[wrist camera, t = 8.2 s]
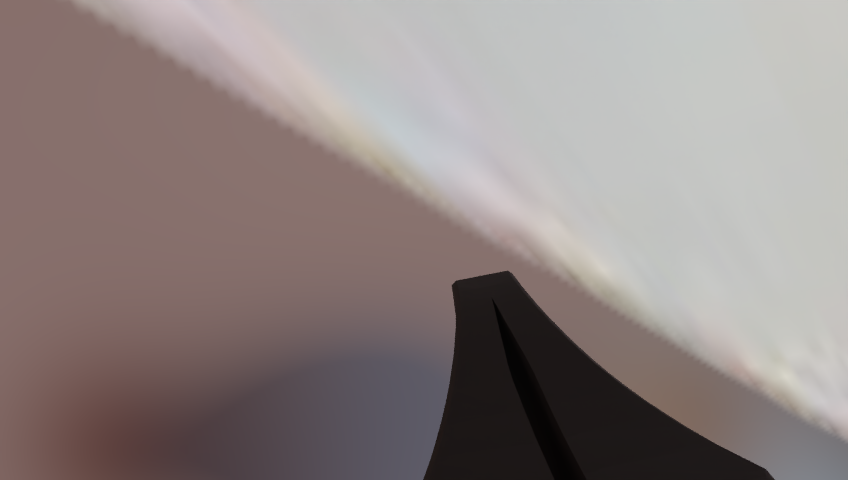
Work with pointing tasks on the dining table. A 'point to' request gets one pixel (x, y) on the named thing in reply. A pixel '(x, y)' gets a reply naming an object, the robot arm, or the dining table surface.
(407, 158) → the dining table surface
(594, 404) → the robot arm
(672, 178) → the dining table surface
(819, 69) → the dining table surface
